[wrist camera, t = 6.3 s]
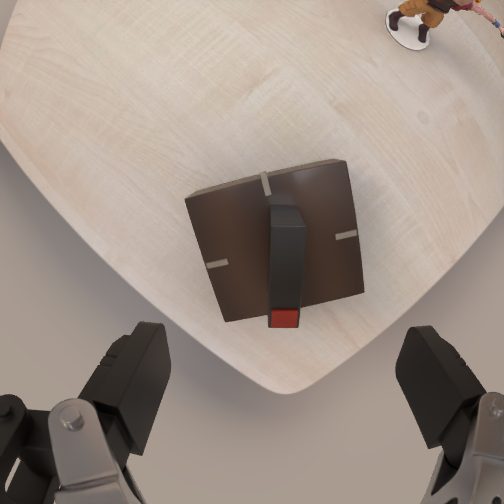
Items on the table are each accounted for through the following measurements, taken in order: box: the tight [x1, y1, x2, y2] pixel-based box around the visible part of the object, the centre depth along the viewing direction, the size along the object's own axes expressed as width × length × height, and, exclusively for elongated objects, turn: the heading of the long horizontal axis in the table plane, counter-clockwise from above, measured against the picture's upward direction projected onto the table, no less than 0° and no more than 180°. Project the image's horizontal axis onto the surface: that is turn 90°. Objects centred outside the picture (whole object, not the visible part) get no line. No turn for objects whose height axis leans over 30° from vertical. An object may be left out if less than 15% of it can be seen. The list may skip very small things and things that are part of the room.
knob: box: [268, 205, 307, 328], centre depth 16 cm, size 6×2×5 cm, turn 0°
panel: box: [185, 159, 364, 322], centre depth 19 cm, size 10×10×3 cm
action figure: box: [386, 0, 504, 50], centre depth 10 cm, size 12×3×9 cm, turn 81°
